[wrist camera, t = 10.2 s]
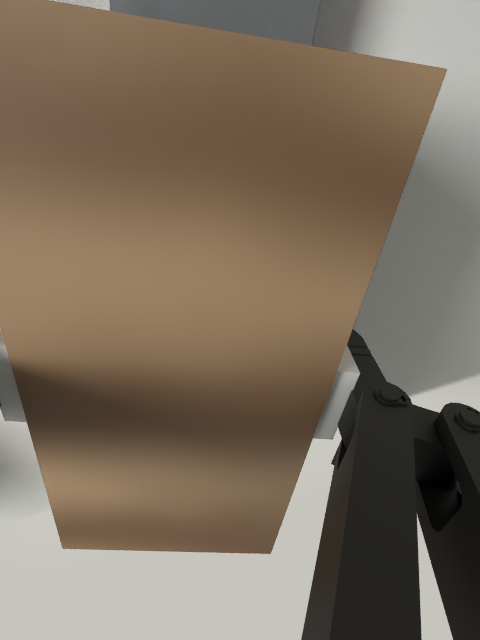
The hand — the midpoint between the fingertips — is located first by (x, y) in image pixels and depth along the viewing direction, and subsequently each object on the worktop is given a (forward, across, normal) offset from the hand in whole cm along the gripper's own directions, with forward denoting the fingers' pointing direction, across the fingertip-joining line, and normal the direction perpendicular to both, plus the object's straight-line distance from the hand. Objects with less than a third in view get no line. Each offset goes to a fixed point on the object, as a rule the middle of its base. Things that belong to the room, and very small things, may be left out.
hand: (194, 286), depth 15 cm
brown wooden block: (0, 0, 0) cm, 0 cm away
